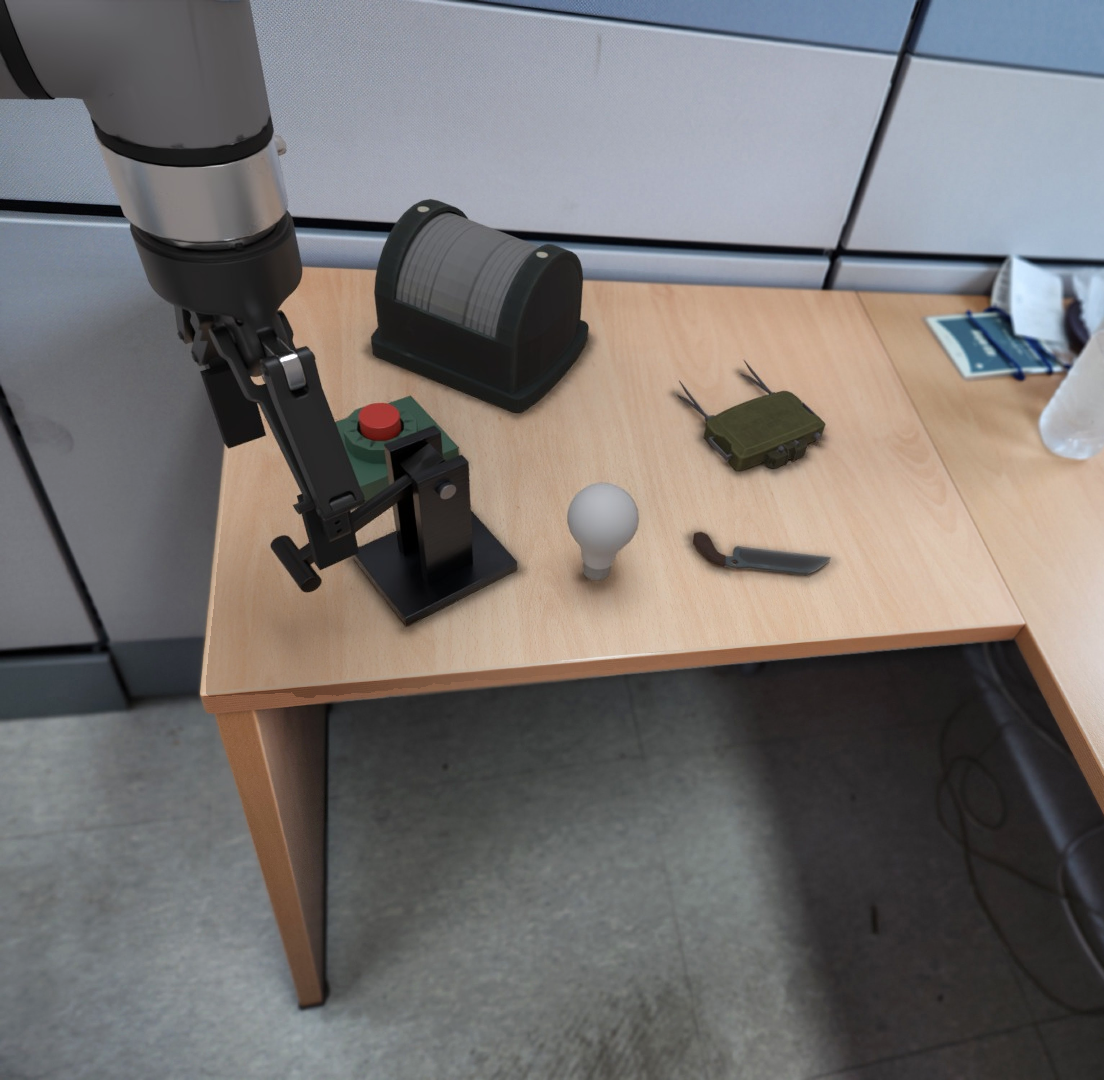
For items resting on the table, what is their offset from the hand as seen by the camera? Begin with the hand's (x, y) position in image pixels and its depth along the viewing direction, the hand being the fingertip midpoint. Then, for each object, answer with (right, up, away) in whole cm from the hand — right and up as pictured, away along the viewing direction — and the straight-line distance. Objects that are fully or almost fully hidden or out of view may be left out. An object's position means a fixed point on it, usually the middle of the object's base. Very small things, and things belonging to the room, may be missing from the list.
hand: (289, 496), depth 59 cm
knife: (+34, -5, +25) cm, 43 cm away
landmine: (+34, +10, +38) cm, 52 cm away
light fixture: (+3, +19, +38) cm, 43 cm away
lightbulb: (+19, -6, +19) cm, 28 cm away
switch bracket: (+5, -5, +17) cm, 18 cm away
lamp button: (-2, +8, +21) cm, 23 cm away
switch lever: (+3, -2, +7) cm, 8 cm away
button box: (-3, +5, +24) cm, 25 cm away
